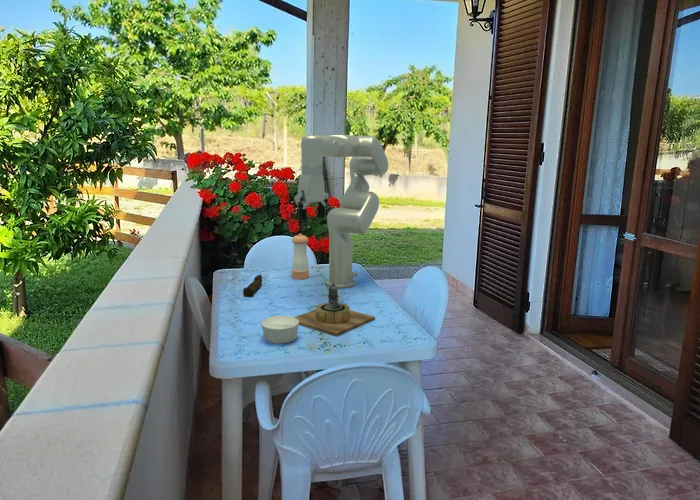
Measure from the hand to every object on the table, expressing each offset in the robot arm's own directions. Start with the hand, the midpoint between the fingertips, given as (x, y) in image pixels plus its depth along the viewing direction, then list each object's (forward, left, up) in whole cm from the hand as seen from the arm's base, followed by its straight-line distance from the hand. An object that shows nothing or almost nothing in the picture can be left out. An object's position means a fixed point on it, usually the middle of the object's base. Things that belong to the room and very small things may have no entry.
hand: (312, 218), depth 189 cm
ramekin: (+36, +20, -31) cm, 51 cm away
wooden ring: (+14, +22, -30) cm, 40 cm away
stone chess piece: (+14, +22, -30) cm, 39 cm away
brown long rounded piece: (+7, -25, -31) cm, 40 cm away
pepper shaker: (-19, -24, -31) cm, 43 cm away
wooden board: (+14, +22, -30) cm, 40 cm away
